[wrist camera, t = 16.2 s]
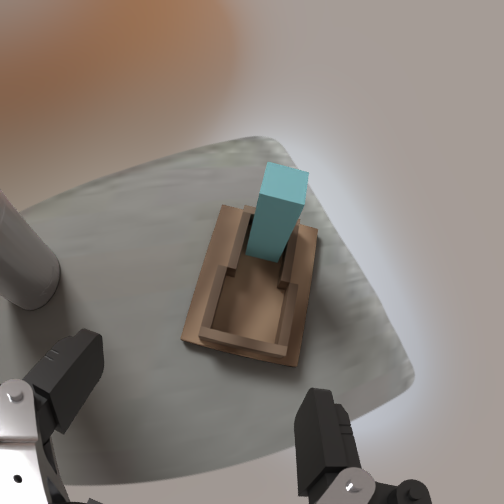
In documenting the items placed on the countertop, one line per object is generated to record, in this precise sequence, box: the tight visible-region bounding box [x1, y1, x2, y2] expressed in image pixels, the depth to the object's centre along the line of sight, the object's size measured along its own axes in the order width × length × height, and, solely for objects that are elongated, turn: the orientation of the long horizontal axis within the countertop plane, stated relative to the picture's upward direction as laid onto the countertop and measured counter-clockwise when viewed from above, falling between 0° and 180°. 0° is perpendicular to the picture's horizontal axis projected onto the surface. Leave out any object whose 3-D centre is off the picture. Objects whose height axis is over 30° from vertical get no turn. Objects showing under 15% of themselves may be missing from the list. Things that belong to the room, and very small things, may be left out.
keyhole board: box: [181, 205, 318, 367], centre depth 34 cm, size 13×18×4 cm
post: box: [245, 162, 309, 263], centre depth 31 cm, size 4×4×12 cm
